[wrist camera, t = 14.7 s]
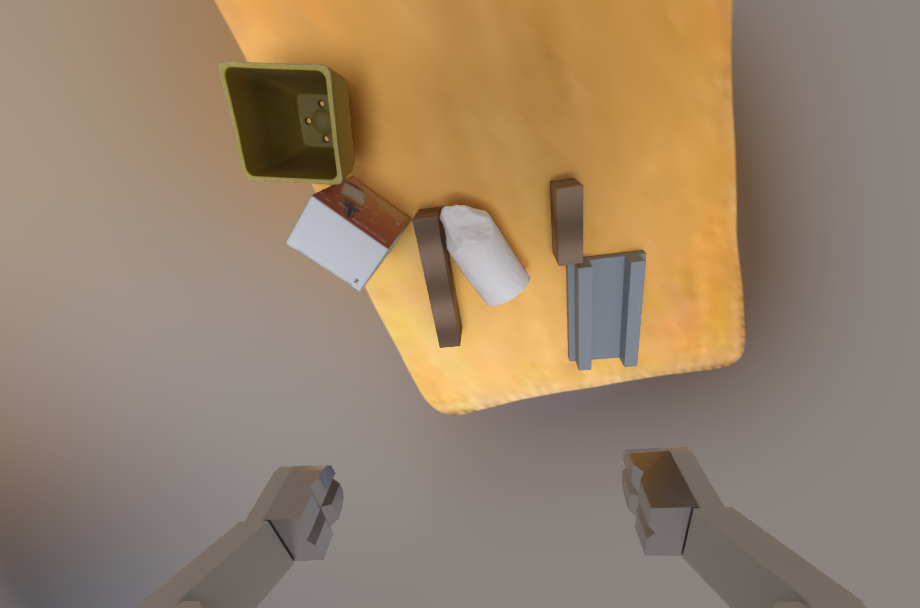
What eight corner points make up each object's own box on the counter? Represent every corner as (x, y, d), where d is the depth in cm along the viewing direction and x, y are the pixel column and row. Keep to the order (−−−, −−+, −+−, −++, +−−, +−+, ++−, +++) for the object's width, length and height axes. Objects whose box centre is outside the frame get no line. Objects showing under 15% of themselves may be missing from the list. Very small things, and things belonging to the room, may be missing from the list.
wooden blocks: (416, 200, 41) (410, 209, 37) (574, 178, 39) (582, 185, 35) (443, 330, 49) (439, 347, 45) (575, 317, 46) (582, 334, 43)
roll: (472, 181, 40) (470, 192, 35) (528, 268, 44) (533, 288, 39) (428, 212, 41) (420, 227, 37) (486, 292, 46) (485, 315, 41)
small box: (412, 219, 42) (391, 250, 33) (387, 255, 44) (360, 294, 35) (351, 173, 40) (310, 193, 31) (328, 214, 42) (283, 243, 33)
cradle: (566, 259, 43) (571, 269, 40) (642, 250, 42) (653, 260, 39) (568, 356, 49) (572, 371, 47) (634, 351, 48) (643, 365, 45)
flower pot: (371, 170, 40) (342, 185, 32) (291, 166, 40) (243, 180, 32) (364, 74, 35) (328, 64, 28) (275, 70, 36) (215, 60, 28)
